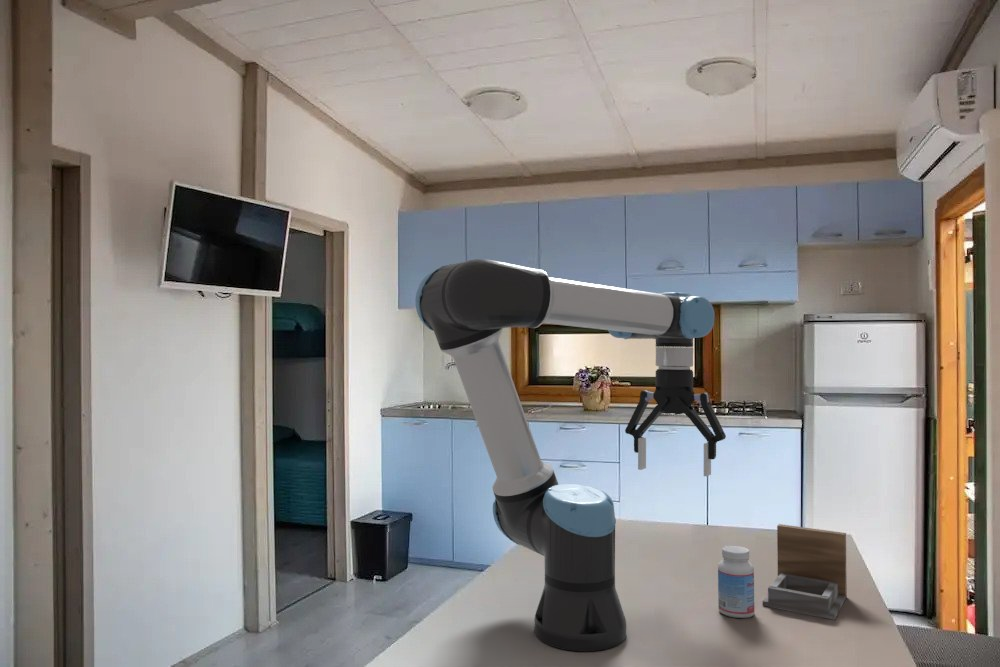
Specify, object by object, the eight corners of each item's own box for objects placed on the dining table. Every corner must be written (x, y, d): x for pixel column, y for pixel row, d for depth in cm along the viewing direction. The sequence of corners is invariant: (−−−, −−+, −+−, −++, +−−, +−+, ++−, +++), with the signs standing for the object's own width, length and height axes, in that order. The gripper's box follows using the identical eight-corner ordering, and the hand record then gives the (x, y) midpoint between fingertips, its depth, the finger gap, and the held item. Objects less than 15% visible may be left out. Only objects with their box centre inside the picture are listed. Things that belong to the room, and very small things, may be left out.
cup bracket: (834, 619, 123) (833, 550, 123) (762, 605, 130) (761, 539, 130) (846, 597, 134) (845, 533, 134) (779, 585, 140) (779, 524, 141)
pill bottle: (756, 620, 123) (756, 555, 123) (720, 618, 124) (719, 553, 124) (751, 607, 129) (751, 545, 129) (716, 605, 130) (716, 543, 130)
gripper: (741, 369, 143) (740, 475, 143) (623, 366, 156) (623, 463, 156) (732, 370, 137) (731, 481, 136) (610, 367, 149) (609, 468, 149)
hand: (673, 472), depth 146 cm, fingers open, 13 cm apart
